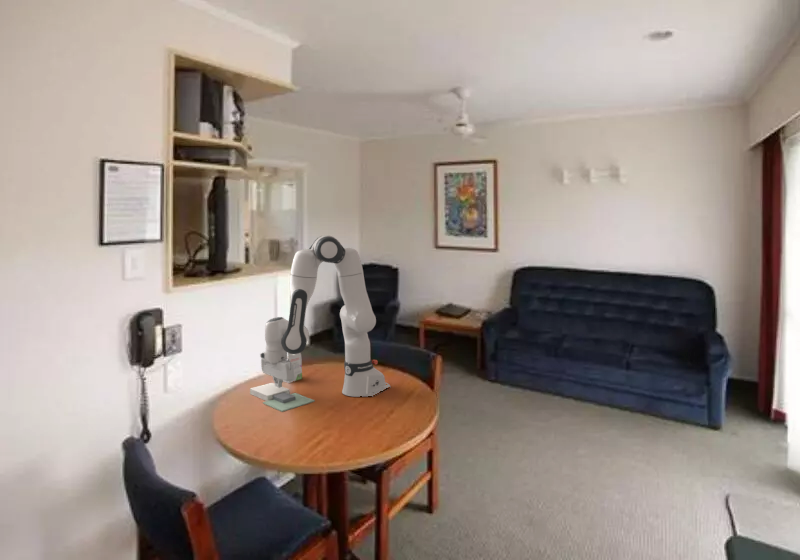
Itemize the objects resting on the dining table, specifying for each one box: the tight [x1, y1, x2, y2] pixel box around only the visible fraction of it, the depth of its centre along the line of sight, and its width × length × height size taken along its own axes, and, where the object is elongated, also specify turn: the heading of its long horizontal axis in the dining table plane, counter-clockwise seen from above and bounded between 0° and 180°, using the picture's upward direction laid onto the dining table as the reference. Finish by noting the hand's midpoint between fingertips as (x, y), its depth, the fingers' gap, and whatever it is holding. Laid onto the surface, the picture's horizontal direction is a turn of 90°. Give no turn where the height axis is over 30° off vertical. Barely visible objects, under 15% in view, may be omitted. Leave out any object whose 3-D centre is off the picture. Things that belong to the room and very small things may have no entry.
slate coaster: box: [273, 392, 296, 403], centre depth 208 cm, size 6×8×2 cm
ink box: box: [282, 352, 303, 384], centre depth 235 cm, size 9×5×15 cm, turn 144°
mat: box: [262, 392, 316, 413], centre depth 206 cm, size 16×14×1 cm
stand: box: [249, 382, 291, 402], centre depth 216 cm, size 11×14×2 cm
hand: (278, 386), depth 212 cm, fingers closed
